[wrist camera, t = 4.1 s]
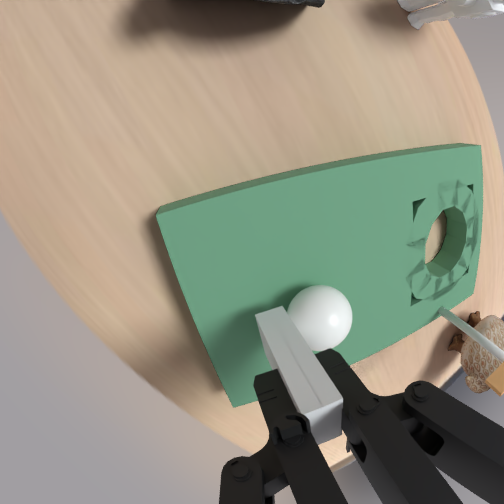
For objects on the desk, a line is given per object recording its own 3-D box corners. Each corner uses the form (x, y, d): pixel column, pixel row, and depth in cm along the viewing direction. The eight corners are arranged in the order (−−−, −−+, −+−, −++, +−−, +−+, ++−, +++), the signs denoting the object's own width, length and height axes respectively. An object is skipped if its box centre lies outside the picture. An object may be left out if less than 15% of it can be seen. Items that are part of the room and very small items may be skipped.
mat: (160, 206, 15) (91, 364, 3) (460, 143, 18) (581, 166, 6) (228, 384, 20) (269, 532, 8) (457, 284, 23) (544, 342, 11)
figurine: (441, 371, 28) (507, 438, 14) (430, 338, 25) (520, 421, 11) (482, 323, 28) (551, 377, 14) (478, 281, 24) (570, 341, 10)
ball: (278, 315, 12) (356, 308, 12) (284, 275, 15) (348, 269, 15) (287, 366, 14) (354, 361, 13) (292, 324, 17) (349, 319, 16)
